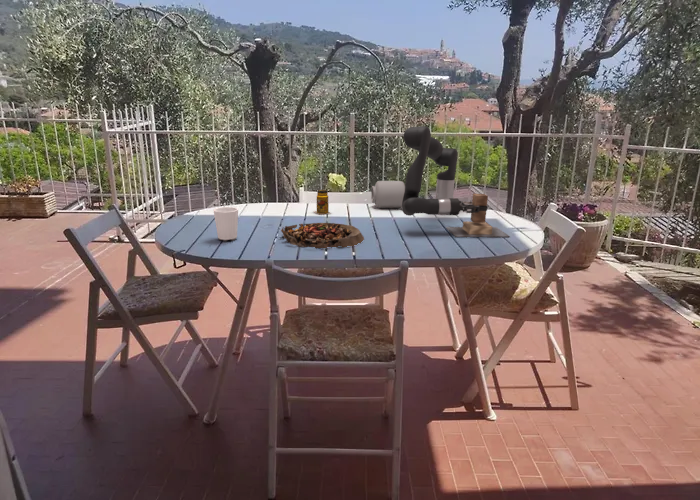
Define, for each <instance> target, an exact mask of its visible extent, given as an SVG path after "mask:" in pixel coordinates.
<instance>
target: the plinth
mask: <svg viewBox="0 0 700 500" xmlns="http://www.w3.org/2000/svg"><path fill="white" fill-rule="evenodd" d="M445 229H446V230H447V231H448V232H449V233H450V234H451V233H452V234H453V235H454V236H455V237H454V236H453V237H454V238H456V237H466V238H467V237H487V238H510V237H511V236H510V235H509V234H507V233H506V232H504V231H503V230H502V229H500V228H498V227H497V226H492V225H491V224H489V223H488V222H486V221H485V223H474V222H473V221H471V220H470V221H468V220H467V221H462V226H446V227H445ZM452 234H451V235H452ZM467 239H468V238H467Z"/></svg>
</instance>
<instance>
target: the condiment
mask: <svg viewBox="0 0 700 500" xmlns="http://www.w3.org/2000/svg"><path fill="white" fill-rule="evenodd" d="M316 193H317V194H316V210H313V212H314V213H315V214H316V215H318V216H319V214H320V215H331V214H332V213H331V212H330V211H329V194H328V190H327V189H317V192H316Z"/></svg>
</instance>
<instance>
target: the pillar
mask: <svg viewBox="0 0 700 500" xmlns="http://www.w3.org/2000/svg"><path fill="white" fill-rule="evenodd" d="M488 199H489V196H488V195H487V194H485V193H472V201H471V202H472V204H474V205H479V206H488ZM475 210H476V208H475ZM486 216H487V211H479V212H478V213H477V212H476V213H470V221H473V222H474V223H485V222H486V218H487V217H486Z"/></svg>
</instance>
